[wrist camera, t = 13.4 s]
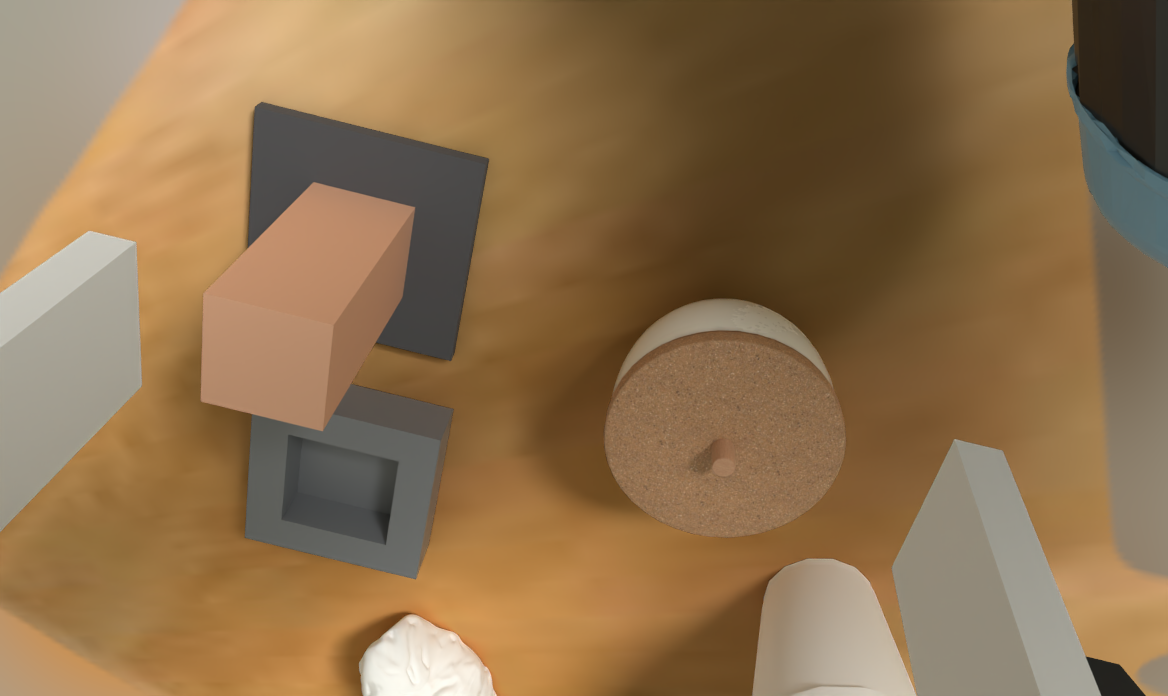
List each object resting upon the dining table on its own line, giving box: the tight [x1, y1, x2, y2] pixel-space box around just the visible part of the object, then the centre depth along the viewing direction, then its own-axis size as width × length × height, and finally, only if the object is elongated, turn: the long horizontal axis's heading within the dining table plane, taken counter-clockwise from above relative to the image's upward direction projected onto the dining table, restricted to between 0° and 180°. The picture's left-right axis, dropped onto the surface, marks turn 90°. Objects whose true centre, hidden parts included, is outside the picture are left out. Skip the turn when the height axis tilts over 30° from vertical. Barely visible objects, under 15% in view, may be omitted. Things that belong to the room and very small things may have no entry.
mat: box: [248, 102, 489, 361], centre depth 49 cm, size 11×11×1 cm
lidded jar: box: [604, 298, 846, 538], centre depth 47 cm, size 11×11×9 cm
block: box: [201, 182, 415, 431], centre depth 43 cm, size 5×5×12 cm
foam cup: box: [752, 559, 916, 696], centre depth 52 cm, size 10×9×13 cm
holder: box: [245, 384, 454, 579], centre depth 55 cm, size 10×10×3 cm
